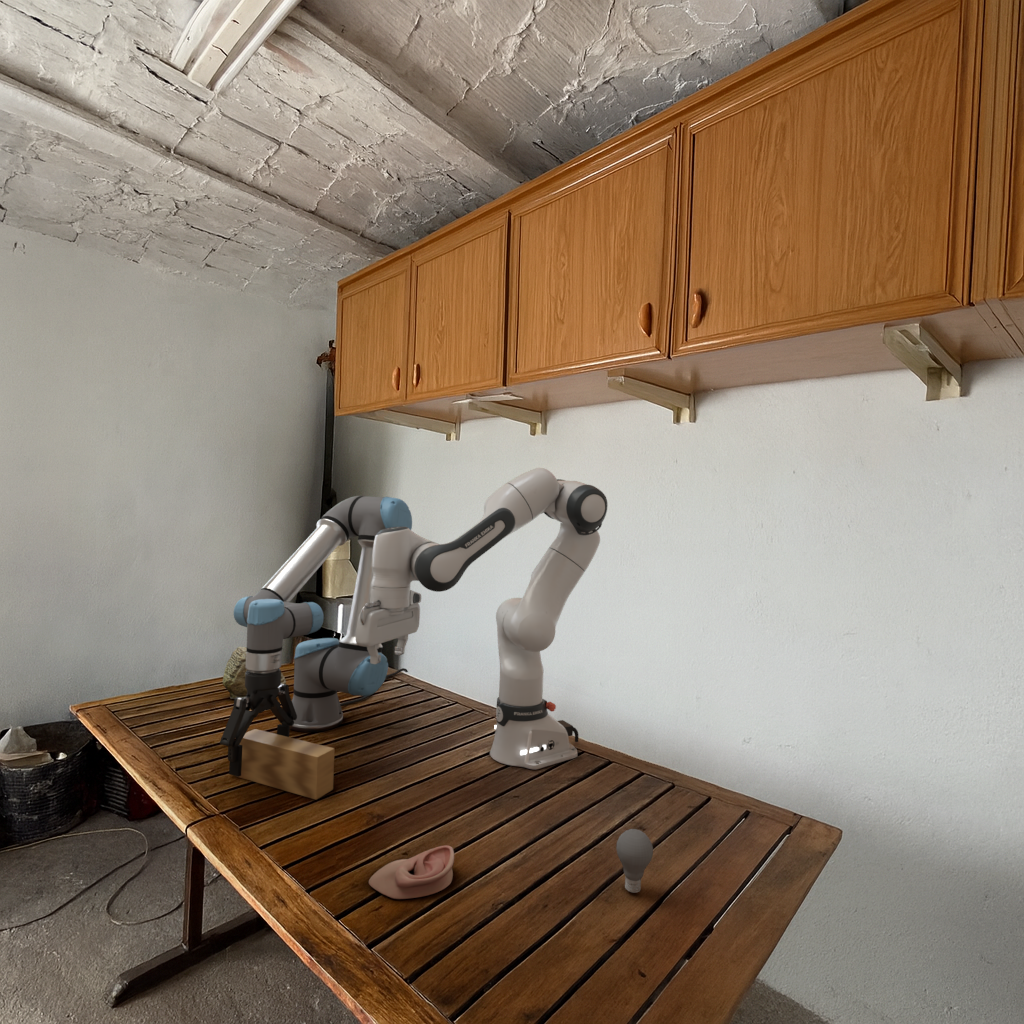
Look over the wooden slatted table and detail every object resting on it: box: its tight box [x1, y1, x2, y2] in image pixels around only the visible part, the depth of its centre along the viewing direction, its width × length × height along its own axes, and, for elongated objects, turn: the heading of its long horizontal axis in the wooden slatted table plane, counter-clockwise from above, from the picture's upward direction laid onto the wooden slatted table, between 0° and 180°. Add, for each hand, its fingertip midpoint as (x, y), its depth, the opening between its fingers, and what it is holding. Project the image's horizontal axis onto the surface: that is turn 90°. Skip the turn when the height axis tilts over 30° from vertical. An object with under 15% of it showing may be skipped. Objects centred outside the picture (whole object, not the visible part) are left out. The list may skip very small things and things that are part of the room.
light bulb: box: [615, 828, 654, 894], centre depth 106 cm, size 6×6×10 cm
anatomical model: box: [368, 844, 455, 900], centre depth 106 cm, size 13×4×12 cm
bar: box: [235, 728, 336, 801], centre depth 139 cm, size 23×5×9 cm, turn 66°
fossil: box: [222, 646, 287, 699], centre depth 198 cm, size 9×18×15 cm, turn 132°
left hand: (259, 763), depth 142 cm, fingers open, 13 cm apart
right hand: (387, 658), depth 144 cm, fingers open, 8 cm apart
